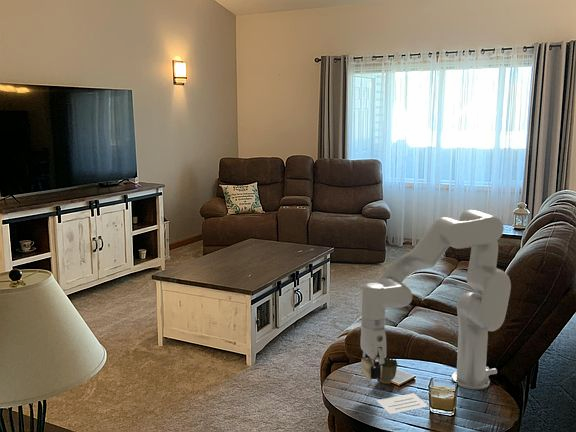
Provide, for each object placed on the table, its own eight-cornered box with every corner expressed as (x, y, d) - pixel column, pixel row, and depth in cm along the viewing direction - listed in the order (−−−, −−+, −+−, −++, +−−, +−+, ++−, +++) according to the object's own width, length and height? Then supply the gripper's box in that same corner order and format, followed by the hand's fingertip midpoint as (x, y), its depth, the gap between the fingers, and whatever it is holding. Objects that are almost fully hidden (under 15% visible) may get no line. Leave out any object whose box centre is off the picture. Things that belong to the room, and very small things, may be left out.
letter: (413, 393, 192) (413, 393, 192) (428, 407, 183) (428, 406, 183) (376, 401, 187) (376, 400, 187) (389, 414, 179) (389, 414, 179)
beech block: (374, 370, 192) (375, 356, 191) (381, 377, 187) (382, 362, 186) (361, 373, 190) (361, 358, 189) (367, 379, 185) (368, 365, 184)
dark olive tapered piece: (396, 389, 195) (397, 367, 194) (374, 387, 197) (375, 365, 195) (397, 378, 202) (397, 357, 201) (375, 377, 204) (376, 356, 202)
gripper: (396, 329, 178) (394, 384, 182) (371, 311, 194) (369, 362, 198) (374, 332, 176) (373, 388, 179) (351, 314, 192) (349, 365, 195)
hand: (371, 373), depth 188 cm, fingers closed on beech block, 5 cm apart
